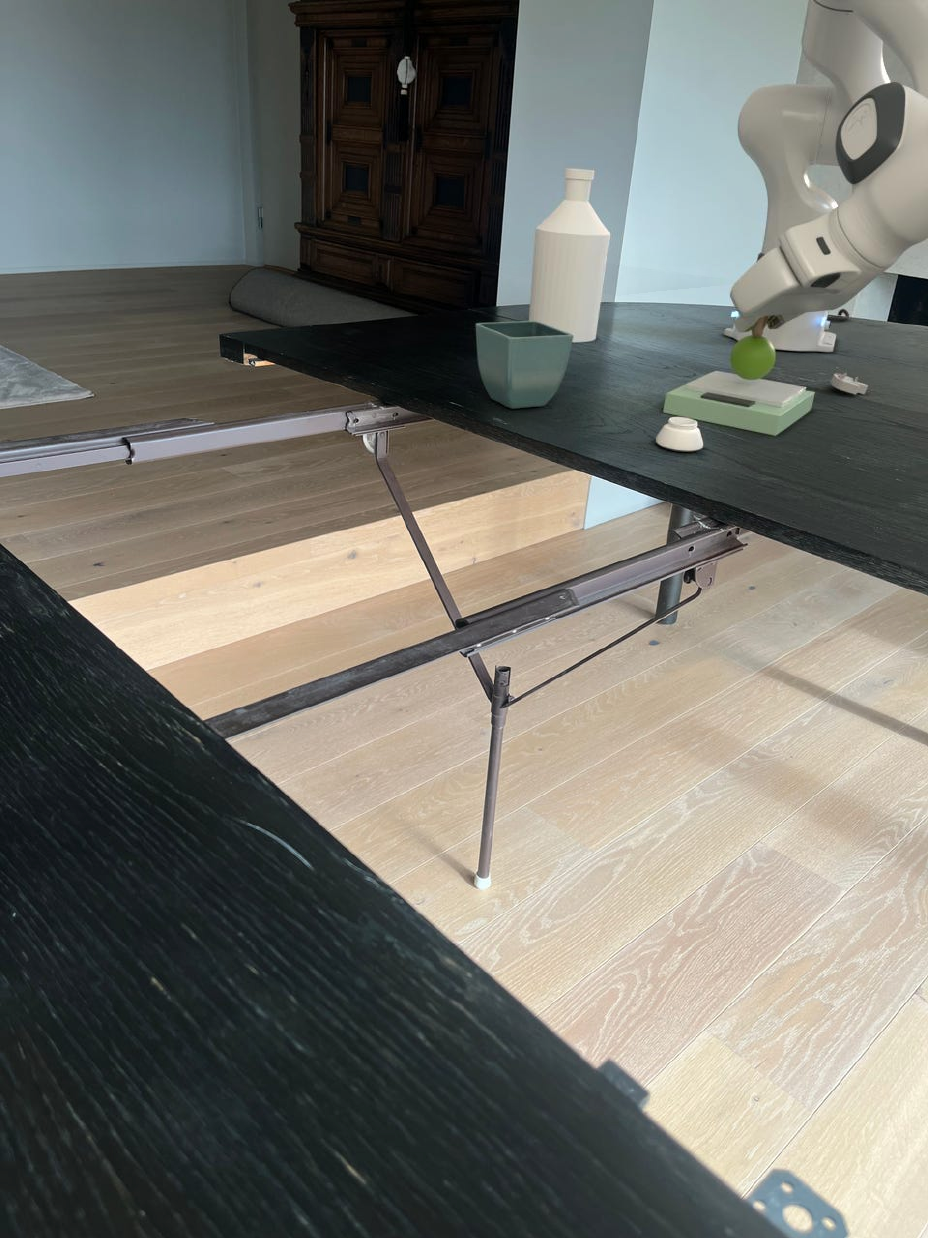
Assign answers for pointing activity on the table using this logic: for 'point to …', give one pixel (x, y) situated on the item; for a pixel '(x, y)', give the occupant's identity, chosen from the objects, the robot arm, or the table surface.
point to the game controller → (847, 384)
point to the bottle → (570, 262)
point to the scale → (740, 402)
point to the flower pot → (522, 361)
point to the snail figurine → (753, 354)
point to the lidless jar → (680, 435)
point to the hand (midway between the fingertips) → (754, 325)
